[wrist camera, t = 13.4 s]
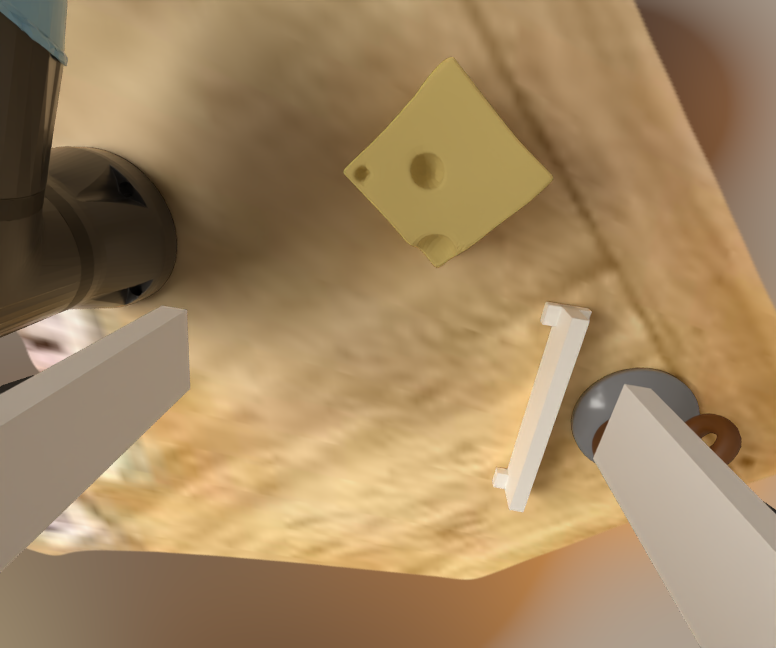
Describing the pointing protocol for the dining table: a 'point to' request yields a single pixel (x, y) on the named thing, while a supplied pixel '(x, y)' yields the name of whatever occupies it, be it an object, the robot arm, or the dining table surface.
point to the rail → (543, 400)
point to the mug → (702, 425)
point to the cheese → (447, 167)
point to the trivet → (606, 392)
